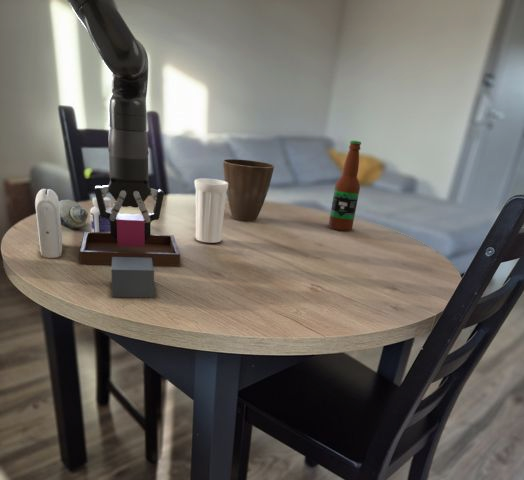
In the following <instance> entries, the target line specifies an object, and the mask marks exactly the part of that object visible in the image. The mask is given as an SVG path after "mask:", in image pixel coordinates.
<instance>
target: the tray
mask: <svg viewBox="0 0 524 480" xmlns="http://www.w3.org/2000/svg"><path fill="white" fill-rule="evenodd" d="M112 257H139V258H152V262H153V267H180V266H181V253H180V250H179V247H178V245H177V241H176V238H175V235H174V234H153V233H152V234H151V235H150V237H147V240H145V247H137V246H118V245H117V239H114V236H111V233H103V232H92V231H84V233H83V237H82V241H81V245H80V249H79V260H80V262H79V263H80V265H99V266H101V265H104V266H105V265H106V266H112Z"/></svg>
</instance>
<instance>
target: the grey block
mask: <svg viewBox="0 0 524 480" xmlns="http://www.w3.org/2000/svg"><path fill="white" fill-rule="evenodd" d="M110 270H111V271H110V272H111V291H112V292H111V295H112V296H111V297H112V298H155V268H154V266H153V262H152V258H139V257H112V265H111V269H110Z"/></svg>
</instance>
